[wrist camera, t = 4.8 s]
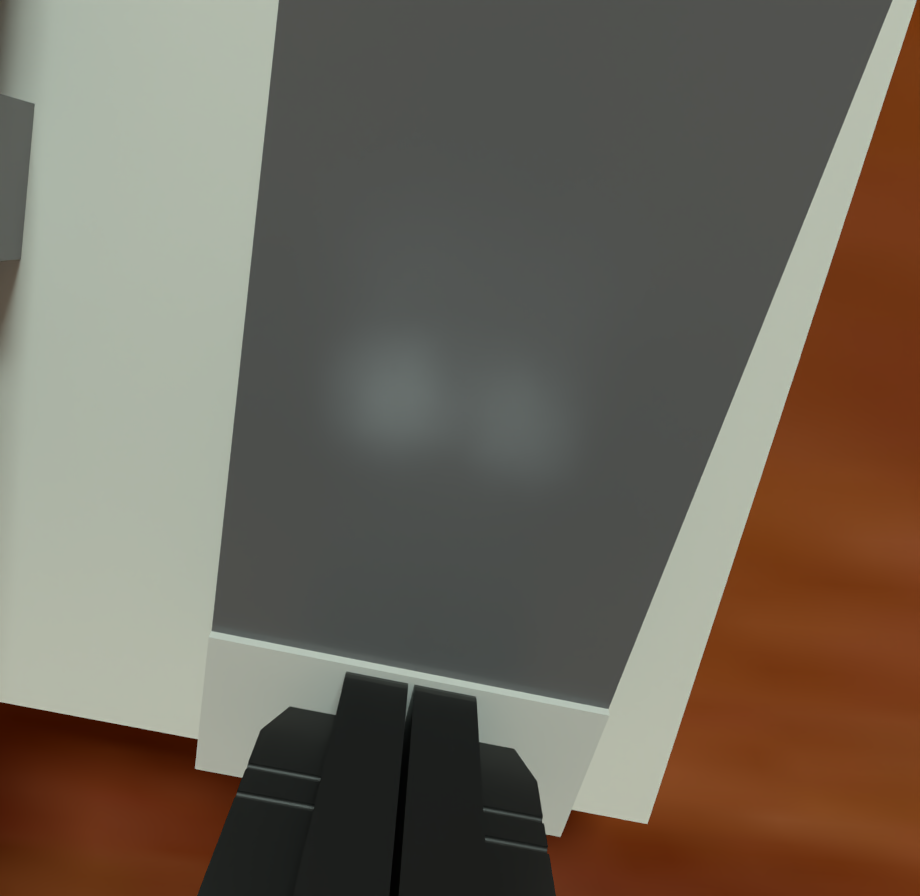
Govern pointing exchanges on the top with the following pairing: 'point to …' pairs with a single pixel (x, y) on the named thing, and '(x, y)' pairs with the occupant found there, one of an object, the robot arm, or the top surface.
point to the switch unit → (218, 362)
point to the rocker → (500, 341)
